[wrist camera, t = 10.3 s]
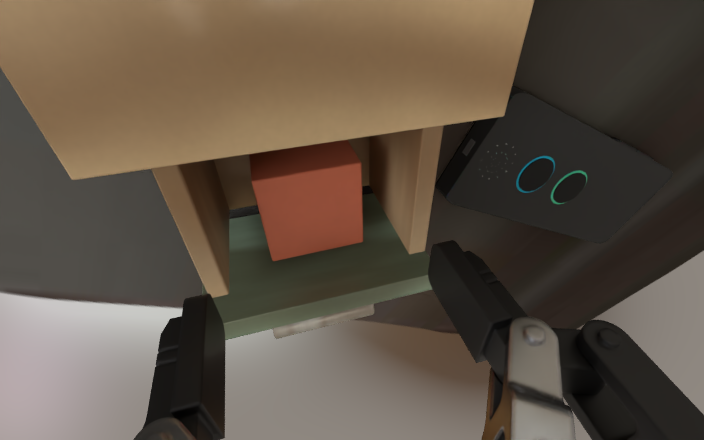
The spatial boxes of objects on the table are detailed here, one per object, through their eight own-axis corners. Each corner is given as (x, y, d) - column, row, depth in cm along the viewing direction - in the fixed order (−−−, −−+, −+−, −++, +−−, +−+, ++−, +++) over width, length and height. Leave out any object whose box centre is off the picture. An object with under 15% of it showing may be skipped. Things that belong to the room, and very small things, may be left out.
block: (341, 193, 20) (363, 242, 17) (265, 207, 19) (272, 262, 16) (336, 120, 17) (362, 162, 14) (246, 133, 16) (250, 181, 13)
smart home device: (521, 86, 19) (679, 172, 28) (502, 77, 21) (660, 162, 30) (442, 204, 23) (603, 247, 32) (431, 190, 24) (588, 235, 34)
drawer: (384, 251, 26) (426, 336, 20) (231, 285, 24) (231, 390, 18) (396, -27, 15) (495, -11, 9) (119, -12, 13) (34, 21, 7)
